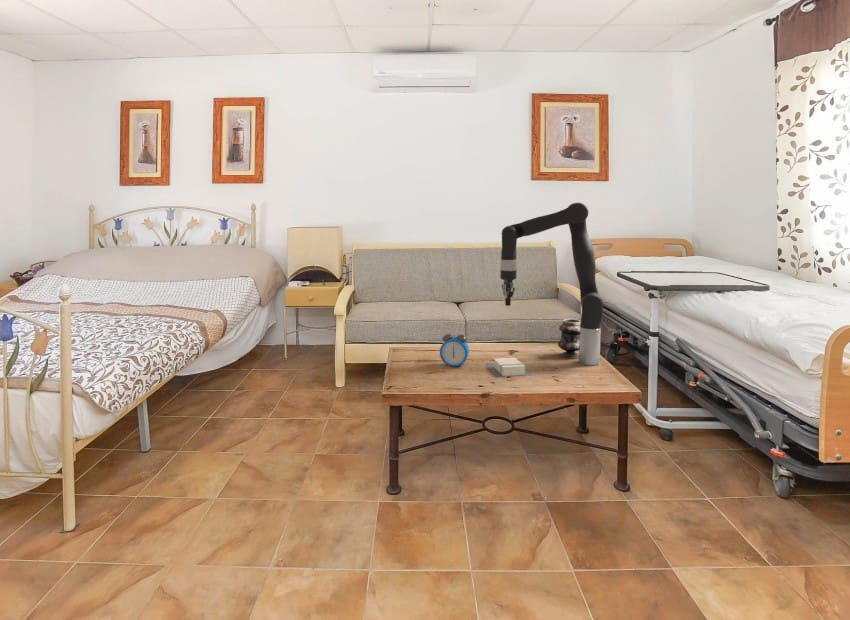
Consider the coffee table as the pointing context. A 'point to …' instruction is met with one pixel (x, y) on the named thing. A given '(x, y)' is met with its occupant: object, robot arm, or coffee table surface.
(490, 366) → the mat
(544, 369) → the coffee table surface
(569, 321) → the apothecary jar
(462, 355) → the alarm clock
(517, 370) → the box
